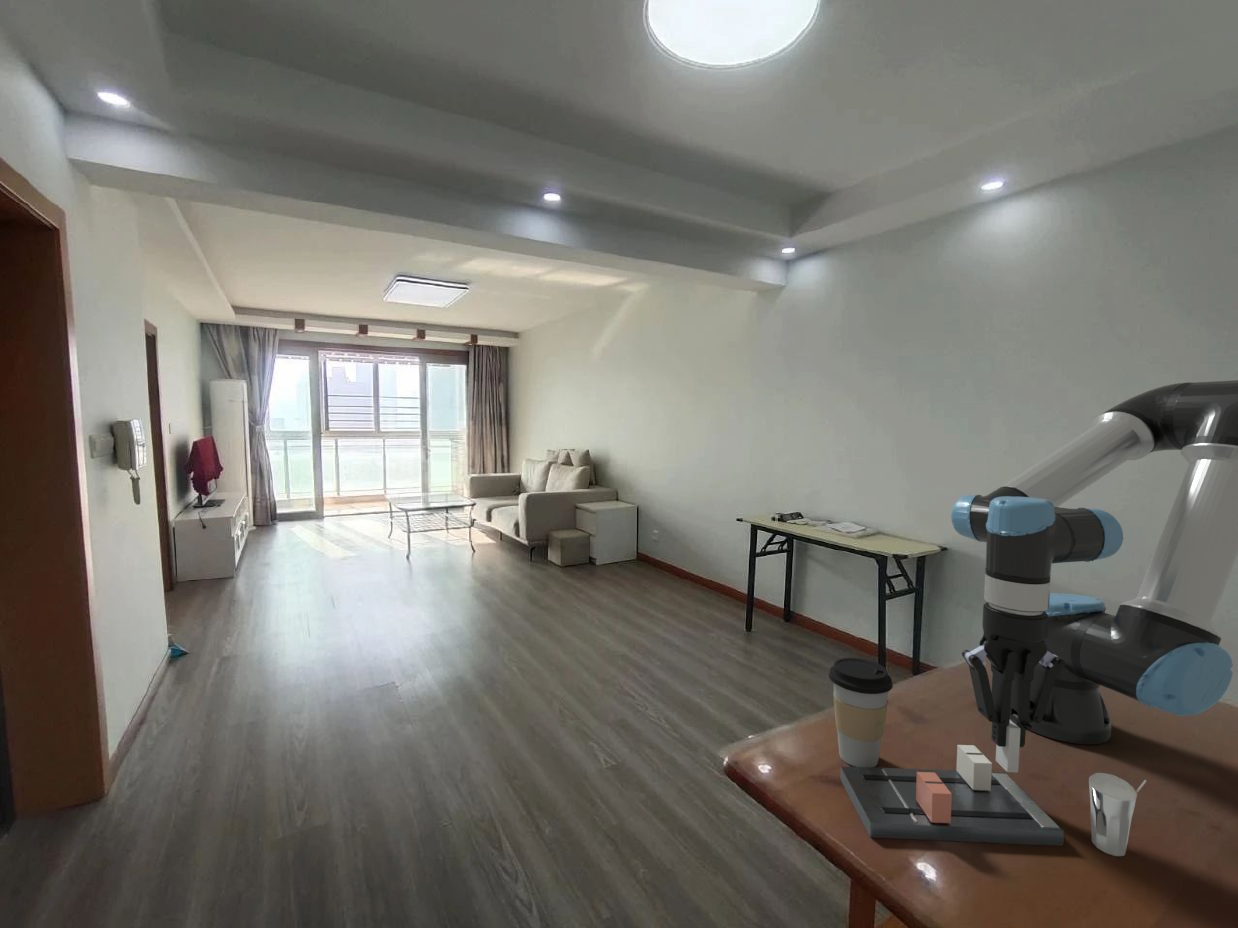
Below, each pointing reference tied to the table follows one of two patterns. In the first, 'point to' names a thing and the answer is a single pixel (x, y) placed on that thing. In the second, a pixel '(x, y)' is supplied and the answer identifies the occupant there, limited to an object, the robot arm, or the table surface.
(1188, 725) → the table surface
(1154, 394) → the robot arm
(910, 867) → the table surface
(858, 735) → the coffee cup
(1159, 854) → the table surface
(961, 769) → the fader
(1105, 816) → the milkshake
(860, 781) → the console
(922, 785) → the fader
